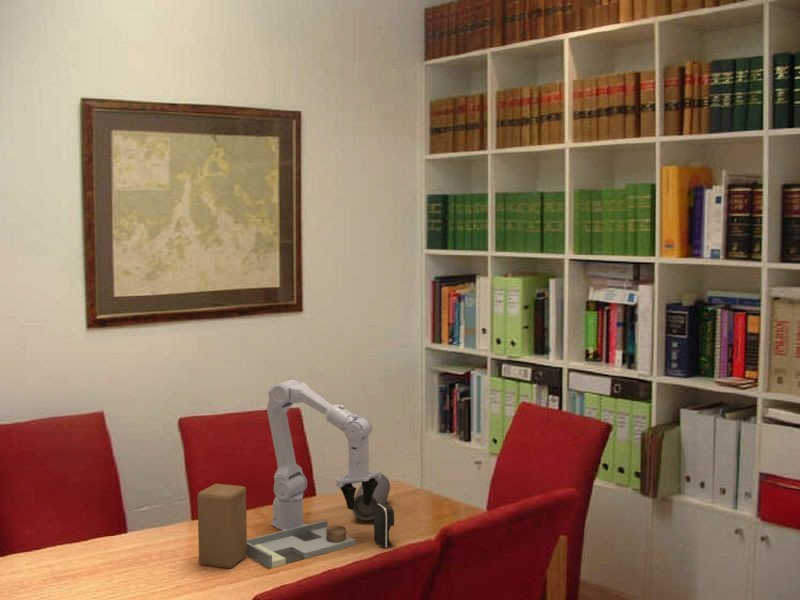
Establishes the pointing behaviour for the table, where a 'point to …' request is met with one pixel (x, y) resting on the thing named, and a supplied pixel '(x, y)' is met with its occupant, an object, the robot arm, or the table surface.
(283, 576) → the table surface
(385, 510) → the battery charger
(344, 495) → the robot arm
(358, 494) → the bluetooth speaker
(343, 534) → the puck
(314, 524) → the trap board
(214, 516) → the wooden block
